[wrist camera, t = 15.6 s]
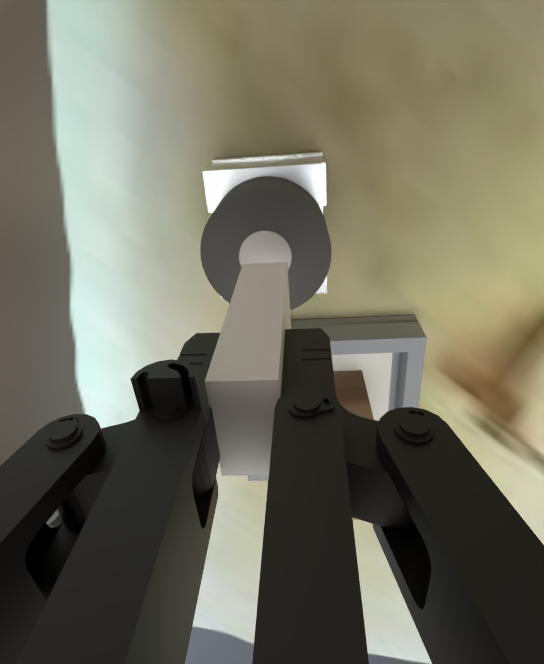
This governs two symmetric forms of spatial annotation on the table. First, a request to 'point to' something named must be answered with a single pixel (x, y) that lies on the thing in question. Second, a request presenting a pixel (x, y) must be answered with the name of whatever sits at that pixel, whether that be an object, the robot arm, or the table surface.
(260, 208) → the wheel
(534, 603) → the robot arm
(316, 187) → the axle mount
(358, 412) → the walnut block
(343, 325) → the chassis bay
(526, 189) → the table surface
